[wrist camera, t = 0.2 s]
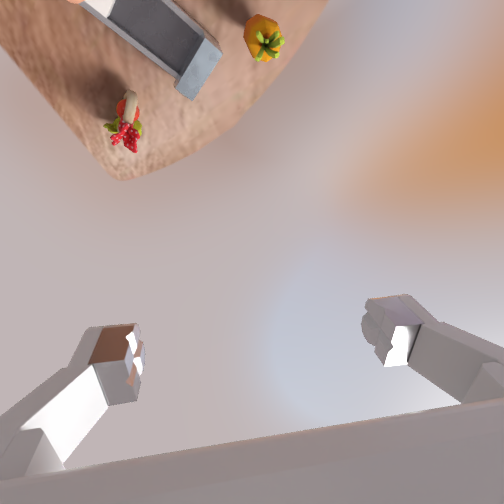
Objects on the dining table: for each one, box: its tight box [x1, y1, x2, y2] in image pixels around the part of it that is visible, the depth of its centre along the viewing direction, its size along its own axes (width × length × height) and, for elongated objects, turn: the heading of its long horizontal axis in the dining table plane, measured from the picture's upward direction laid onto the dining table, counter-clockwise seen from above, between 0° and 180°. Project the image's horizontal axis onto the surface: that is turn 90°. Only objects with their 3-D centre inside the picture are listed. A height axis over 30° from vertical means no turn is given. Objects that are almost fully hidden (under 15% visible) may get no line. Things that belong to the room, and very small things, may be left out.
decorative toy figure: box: [103, 90, 142, 153], centre depth 48 cm, size 6×11×9 cm
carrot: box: [243, 14, 285, 62], centre depth 41 cm, size 5×5×15 cm
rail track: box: [78, 0, 223, 101], centre depth 39 cm, size 8×24×8 cm, turn 49°
